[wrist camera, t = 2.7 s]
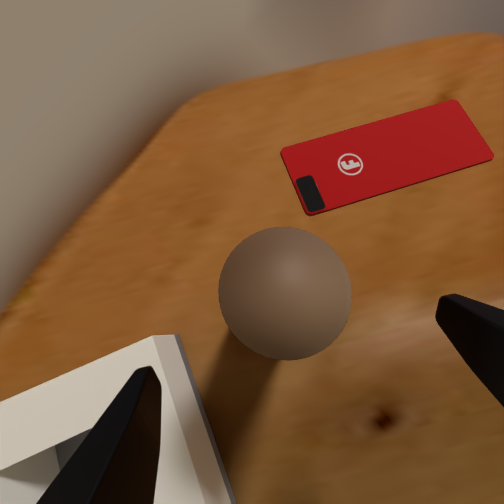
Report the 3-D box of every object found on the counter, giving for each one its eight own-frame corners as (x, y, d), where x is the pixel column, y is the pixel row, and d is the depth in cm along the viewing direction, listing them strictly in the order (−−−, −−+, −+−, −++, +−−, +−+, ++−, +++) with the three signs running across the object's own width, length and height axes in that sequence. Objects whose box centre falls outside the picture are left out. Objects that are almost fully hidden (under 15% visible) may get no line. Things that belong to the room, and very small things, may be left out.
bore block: (242, 519, 14) (237, 604, 10) (49, 623, 13) (-55, 771, 9) (178, 334, 17) (152, 335, 12) (13, 407, 15) (-80, 436, 11)
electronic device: (452, 103, 22) (278, 152, 21) (457, 97, 21) (279, 148, 20) (491, 161, 20) (306, 219, 19) (497, 157, 20) (307, 216, 19)
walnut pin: (305, 328, 17) (377, 324, 7) (252, 353, 16) (250, 385, 7) (280, 275, 18) (313, 209, 8) (229, 298, 17) (199, 255, 8)
